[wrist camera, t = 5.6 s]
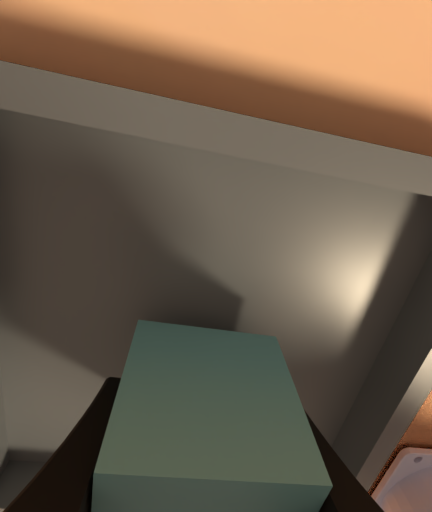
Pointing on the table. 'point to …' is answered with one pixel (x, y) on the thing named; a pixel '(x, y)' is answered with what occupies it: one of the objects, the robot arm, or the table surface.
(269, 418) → the teal block
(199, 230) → the charcoal tray
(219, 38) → the table surface
